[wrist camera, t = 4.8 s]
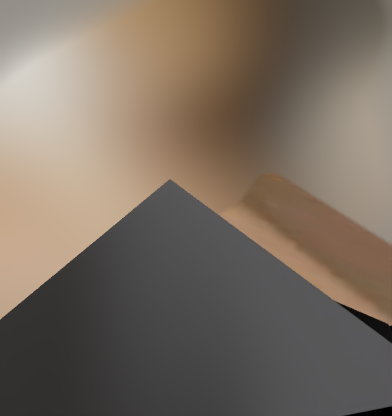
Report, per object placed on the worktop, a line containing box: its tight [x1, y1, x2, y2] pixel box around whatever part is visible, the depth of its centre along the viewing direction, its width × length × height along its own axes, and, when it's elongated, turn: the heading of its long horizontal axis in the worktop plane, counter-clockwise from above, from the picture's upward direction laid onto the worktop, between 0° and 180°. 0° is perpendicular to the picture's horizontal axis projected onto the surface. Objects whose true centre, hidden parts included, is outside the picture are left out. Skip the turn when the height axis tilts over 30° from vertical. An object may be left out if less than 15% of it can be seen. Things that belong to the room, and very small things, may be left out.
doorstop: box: [0, 180, 392, 416], centre depth 7 cm, size 4×4×12 cm
